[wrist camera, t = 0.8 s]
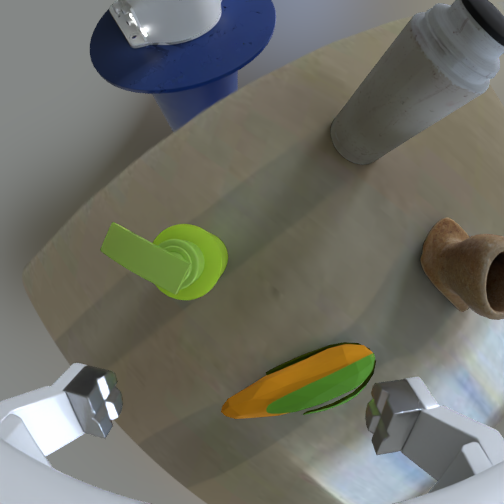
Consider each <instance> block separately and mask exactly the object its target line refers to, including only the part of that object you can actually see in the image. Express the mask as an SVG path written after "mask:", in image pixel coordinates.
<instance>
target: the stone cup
mask: <svg viewBox="0 0 504 504" xmlns="http://www.w3.org/2000/svg"><path fill="white" fill-rule="evenodd" d="M420 261H421V266H422V268H423V270H424V272H425V273H426V275H427V276H428V278H429V279H430V281H431V282H432V283H433V284H434V285H435V287H436V288H437V289H438V290H439V291H440V292H441V293H442V294H443V295H444V296H445V297H446V298H447V299H448V300H449V301H450V302H451V303H452V304H453V305H454V306H455V307H456V308H457V309H458V310H459V311H461V312H464V311H466V310H467V309H469V308H471V309H472V310H473V311H474V312H476V313H477V314H479V315H481V316H484V317H487V318H489V319H495V320H500V319H504V237H503V236H499V235H491V234H480V235H475V236H471V237H469V236H468V234H467V233H466V232H465V231H464V230H463V229H462V228H461V227H460V226H459V225H458V224H457V223H456V222H455V221H453V220H452V219H450V218H444V219H441V220H440V221H438V222H437V223H436V224H435V225H434V226H433V228H432V229H431V230H430V232H429V234H428V236H427V238H426V240H425V241H424V244H423V253H422V255H421V258H420Z"/></svg>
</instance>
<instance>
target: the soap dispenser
mask: <svg viewBox="0 0 504 504" xmlns="http://www.w3.org/2000/svg"><path fill="white" fill-rule="evenodd" d="M100 250H101V252H103V253H104V254H105V255H107V256H108V257H110V258H111V259H113V260H114V261H116V262H117V263H119V264H120V265H122V266H123V267H125V268H127V269H128V270H130V271H132V272H133V273H135V274H137V275H139V276H141V277H142V278H144V279H146V280H148V281H150V282H152V283H154V284H155V285H156V286H157V288H158V289H159V290H160V291H162V292H163V293H164V294H166V295H167V296H169V297H172V298H174V299H178V300H192V299H196V298H199V297H201V296H203V295H205V294H206V293H207V292H209V291H210V290H211V289H212V288H213V286H214V285H215V284H216V282H217V281H218V279H219V278H220V276H221V275H222V273H223V272H224V270H225V268H226V266H227V262H228V253H227V249H226V247H225V245H224V243H223V242H222V241H221V240H220V239H219V238H218V237H216V236H215V235H213V234H211V233H209V232H207V231H205V230H204V229H202V228H200V227H197V226H194V225H190V224H179V225H174V226H171V227H169V228H167V229H165V230H164V231H162V232H161V233H160V234H159V235H158V236H157V237H156V238H155V240H154V241H153V243H151V242H149V241H147V240H146V239H144V238H142V237H140V236H138V235H136V234H135V233H133V232H131V231H129V230H128V229H126V228H124V227H122V226H121V225H118V224H116V223H114V222H112V224H111V226H110V228H109V230H108V233H107V235H106V237H105V239H104V242H103V244H102V247H101V249H100Z"/></svg>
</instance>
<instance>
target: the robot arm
mask: <svg viewBox="0 0 504 504" xmlns="http://www.w3.org/2000/svg"><path fill="white" fill-rule="evenodd" d="M221 2H222V0H116V1H115V2H114V3H113V4H112V6H111V7H110V8H109V11H110V14H111V15H112V17H113V19H114V20H115V22H116V23H117V25H118V27H119V28H120V30H121V32H122V33H123V35H124V37H125V38H126V40H127V41H128V43H129V45H130V46H131V47H132V48H140V47H144V46H148V45H173V44H179V43H183V42H187V41H190V40H193V39H195V38H197V37H200V36H202V35H203V34H205V33H207V32H208V31H209V30H211V29H212V28H213V27H214V26H215V25H216V24H217V22H218V21H219V19H220V17H221V12H222V11H221ZM117 382H118V381H117V378H116V375H115V373H114V372H112V371H110V370H105V369H101V368H97V367H93V366H89V365H84V364H80V363H73V364H72V365H71V366H70V367H69V369H67V370H66V371H65V372H64V373H63V374H62V375H61V377H59V379H57V381H56V382H55V383H54V384H53V385H52V386H51V387H49V386H45V387H42V388H39V389H36V390H33V391H31V392H27V393H24V394H21V395H18V396H15V397H12V398H9V399H5V400H2V401H0V504H151V503H147V502H143V501H139V500H136V499H132V498H129V497H125V496H122V495H119V494H116V493H113V492H110V491H107V490H104V489H101V488H99V487H96V486H93V485H90V484H88V483H86V482H83V481H81V480H78V479H76V478H74V477H71V476H69V475H67V474H65V473H62V472H60V471H58V470H56V469H54V468H52V465H51V464H50V462H49V461H48V460H47V458H46V457H45V456H47V455H49V454H51V453H52V452H54V451H56V450H57V449H59V448H61V447H62V446H64V445H66V444H68V443H69V442H71V441H73V440H75V439H76V438H78V437H80V436H81V435H83V434H84V433H87V434H91V435H94V436H98V437H101V438H106V437H107V435H108V433H109V432H110V430H111V428H112V427H113V424H112V420H113V419H115V418H117V417H118V416H119V415H120V413H121V411H122V406H123V398H122V394H121V391H120V390H119V389H118V388H117V387H116V386H115V385H116V384H117ZM371 394H372V396H373V399H372V400H371V401H370V402H369V403H368V405H367V408H366V418H365V419H366V425H367V428H368V431H370V432H371V433H373V434H374V435H373V437H372V443H373V446H374V449H375V452H376V455H380V454H386V453H392V452H398V451H401V452H402V453H403V454H404V455H405V456H407V457H408V458H409V459H410V460H412V461H413V462H414V463H415V464H417V465H418V466H419V467H420V468H422V469H423V470H424V471H425V472H427V473H428V474H429V475H431V476H432V477H433V478H434V479H436V480H437V483H436V484H435V485H434V487H433V488H432V489H431V490H430V491H429V493H428V494H425V495H422V496H419V497H415V498H412V499H408V500H405V501H401V502H397V503H394V504H504V439H503V437H502V436H501V434H500V433H499V432H498V430H496V429H493V428H491V427H489V426H487V425H484V424H482V423H480V422H478V421H476V420H473V419H471V418H469V417H467V416H465V415H463V414H461V413H458V412H456V411H454V410H452V409H450V408H448V407H446V406H444V405H442V406H439V405H438V403H437V402H436V400H435V399H434V397H433V396H432V394H431V393H430V391H429V390H428V388H427V387H426V385H425V384H424V382H423V381H422V379H421V378H420V377H418V376H417V377H411V378H405V379H401V380H394V381H387V382H379V383H375V384H374V386H373V388H372V391H371Z"/></svg>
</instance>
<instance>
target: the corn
mask: <svg viewBox="0 0 504 504" xmlns="http://www.w3.org/2000/svg"><path fill="white" fill-rule="evenodd" d="M375 363H376V361H375V356H374V353H373V352H371V351H370V349H369V348H367V347H365V346H364V345H361V344H359V343H346V342H344V343H338V344H333V345H329V346H326V347H323V348H321V349H318V350H315V351H312V352H309V353H307V354H304V355H301V356H299V357H297V358H294V359H292V360H290V361H288V362H285V363H283V364H281V365H279V366H277V367H275V368H273V369H271V370H269V371H268V372H266V375H267V376H264V377H263V378H261V379H260V380H258V381H257V382H255V383H253V384H252V385H250V386H248V387H247V388H245V389H244V390H242V391H240V392H239V393H237V394H235V395H233V396H232V397H230V398H228V399H227V401H226V402H225V403H224V405H223V406H222V410H221V412H222V413H223V414H224V415H225V416H227V417H231V418H234V419H240V418H256V417H267V416H277V415H282V414H286V413H290V412H296V411H300V410H303V409H306V408H310V407H313V406H316V405H319V404H322V403H324V402H326V401H329V400H331V399H333V398H336V397H338V396H340V395H342V394H344V393H347V392H349V391H351V390H353V389H355V388H356V387H358V386H359V385H360V384H361V383H362V382H363V381H364V382H363V383H362V384H361V385H360V386H359V387H358V388H357V389H356V390H355V391H354V392H353V393H351V394H349V395H347V396H345V397H344V398H342V399H340V400H338V401H336V402H334V403H332V404H329V405H326V406H323V407H321V408H318V409H314V410H310V411H307V412H305V413H304V414H303V415H305V414H311V413H316V412H320V411H325V410H328V409H330V408H333V407H336V406H338V405H341V404H343V403H346V402H348V401H349V400H351V399H352V398H354V397H355V396H356V395H358V394H359V393H360V392H361V391H362V390H363V389H364V388H365V386H366V385H367V383H368V382H369V380H370V378H371V377H372V375H373V374H374V368H375Z"/></svg>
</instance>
